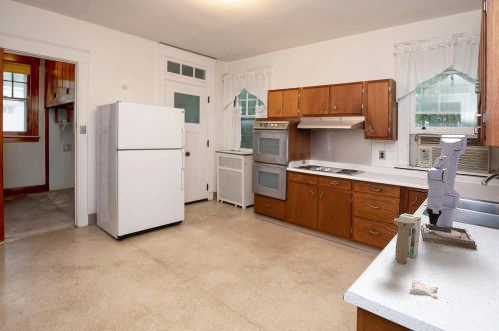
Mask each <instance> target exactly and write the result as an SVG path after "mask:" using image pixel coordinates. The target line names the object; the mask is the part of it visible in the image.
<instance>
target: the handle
mask: <svg viewBox="0 0 499 331" xmlns="http://www.w3.org/2000/svg"><path fill="white" fill-rule="evenodd" d="M393 224H394V225H395V226H397V235H396V241H395V242H396V243H395V261H396V263H398V264H401V265H405V264H407V262H408V260H407V259H408V257H409V256H408V251H409V229H410V228H411V227H413V226H415V221H413V220H409V219H402V218H399V217H396V218H393Z"/></svg>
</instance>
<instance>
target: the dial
mask: <svg viewBox="0 0 499 331" xmlns="http://www.w3.org/2000/svg"><path fill="white" fill-rule="evenodd" d="M428 224H429V230H433V233H434V234H436V235H439V236H446V237H448V236H450V237H453V238H460V237H461V233H459V232H457V231H455V230H451V227H447V226H438V225H433V224H430V223H428Z"/></svg>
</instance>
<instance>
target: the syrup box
mask: <svg viewBox="0 0 499 331" xmlns="http://www.w3.org/2000/svg"><path fill="white" fill-rule="evenodd" d="M398 218H402V219H409V220H413V221H415V226H413V227H411V228H410V229H409V251H408V257H410V258H414V257H416V255H418V254H419V247H420V246H419V244H420V234H421V232H420V231H421V223H422V222H421V220H422V216H420V215H419V216H418V215H414V214H409V213H402V214H400V215H399V217H398Z"/></svg>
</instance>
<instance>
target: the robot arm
mask: <svg viewBox="0 0 499 331" xmlns="http://www.w3.org/2000/svg"><path fill="white" fill-rule="evenodd" d="M467 141H468V138H467V136H466V135H445V134H443V135H442V136H440V138H439V147H440V149H441V153H440V156H437V157H436V158H435V160H434V163H433V165H432V167H431V168H429V169H428V170H427V171H428V172H427V176H426V177H427V185H428V189H427V199H426V203H423V207H427V208H426V212H427V214H428V220H429V223H428V224H433V225H441V226H448V227H455V226H454V214H455V210H456V209H458V207H459V205H460V197H461V196H460V193H459V192H458V190H456V189H455V182H456V176H457V171H458V166H459V160H460V156H462V155H464V154H465V153H466V151H467V150H466V149H467V143H468V142H467Z"/></svg>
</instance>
